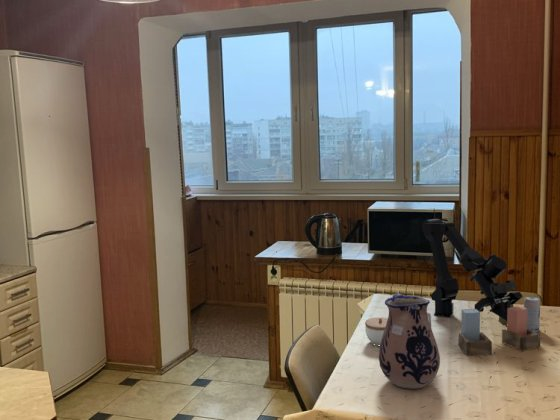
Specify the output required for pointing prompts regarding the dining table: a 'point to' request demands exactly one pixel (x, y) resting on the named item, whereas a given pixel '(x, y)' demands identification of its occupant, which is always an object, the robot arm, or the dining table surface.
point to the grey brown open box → (475, 345)
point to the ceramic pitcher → (408, 343)
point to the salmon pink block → (517, 320)
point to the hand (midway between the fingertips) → (511, 322)
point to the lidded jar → (375, 329)
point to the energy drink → (532, 312)
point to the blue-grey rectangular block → (471, 324)
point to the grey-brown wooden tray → (521, 339)
